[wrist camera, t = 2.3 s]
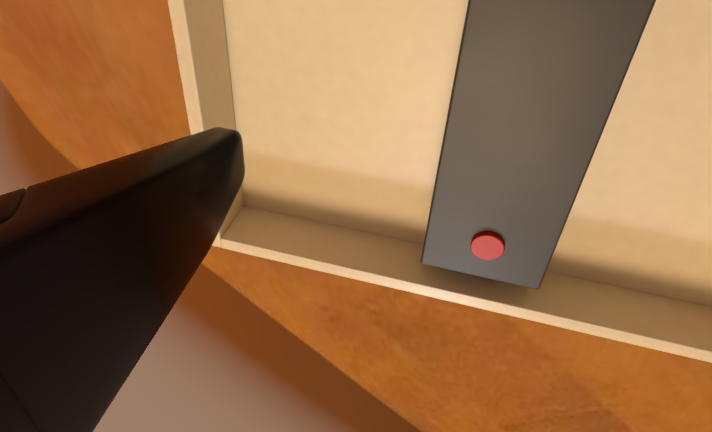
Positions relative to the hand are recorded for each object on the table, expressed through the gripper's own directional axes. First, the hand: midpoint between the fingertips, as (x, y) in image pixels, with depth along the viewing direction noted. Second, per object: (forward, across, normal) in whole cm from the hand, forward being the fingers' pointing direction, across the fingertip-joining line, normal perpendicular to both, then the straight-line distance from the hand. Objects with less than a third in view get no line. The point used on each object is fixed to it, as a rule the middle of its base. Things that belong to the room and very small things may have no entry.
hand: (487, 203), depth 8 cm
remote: (+10, -1, +1) cm, 10 cm away
